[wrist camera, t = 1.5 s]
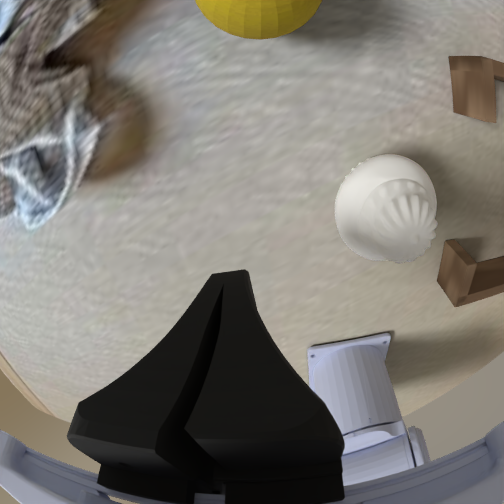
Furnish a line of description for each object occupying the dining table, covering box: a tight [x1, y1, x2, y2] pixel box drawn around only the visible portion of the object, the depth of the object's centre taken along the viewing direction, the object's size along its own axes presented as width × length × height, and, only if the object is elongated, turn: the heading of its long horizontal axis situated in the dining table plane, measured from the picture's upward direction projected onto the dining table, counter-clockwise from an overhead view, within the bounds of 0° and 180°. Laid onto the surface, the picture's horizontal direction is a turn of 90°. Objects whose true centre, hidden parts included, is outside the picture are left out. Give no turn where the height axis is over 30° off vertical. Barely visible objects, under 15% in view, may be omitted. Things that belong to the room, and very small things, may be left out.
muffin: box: [335, 154, 438, 263], centre depth 14 cm, size 6×6×7 cm
